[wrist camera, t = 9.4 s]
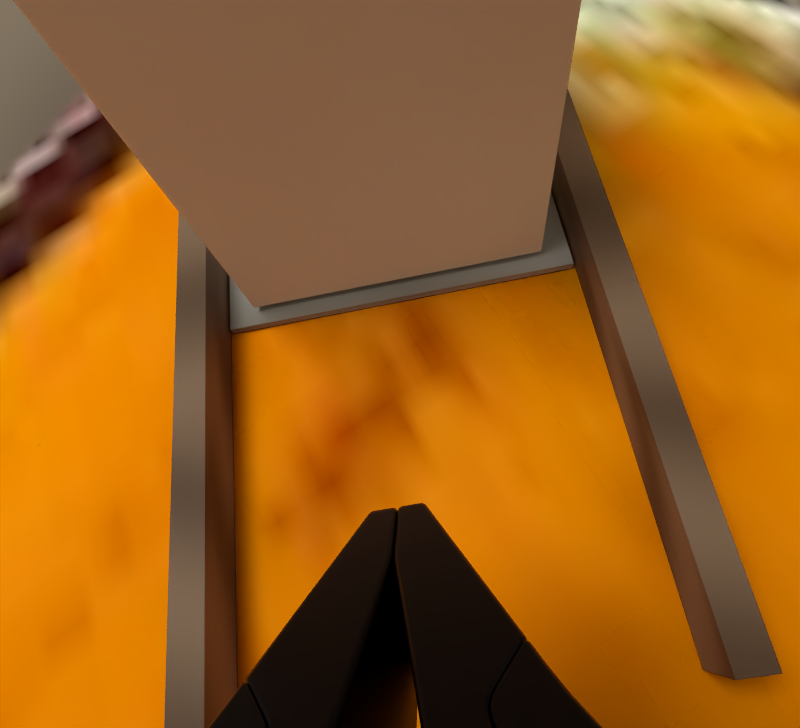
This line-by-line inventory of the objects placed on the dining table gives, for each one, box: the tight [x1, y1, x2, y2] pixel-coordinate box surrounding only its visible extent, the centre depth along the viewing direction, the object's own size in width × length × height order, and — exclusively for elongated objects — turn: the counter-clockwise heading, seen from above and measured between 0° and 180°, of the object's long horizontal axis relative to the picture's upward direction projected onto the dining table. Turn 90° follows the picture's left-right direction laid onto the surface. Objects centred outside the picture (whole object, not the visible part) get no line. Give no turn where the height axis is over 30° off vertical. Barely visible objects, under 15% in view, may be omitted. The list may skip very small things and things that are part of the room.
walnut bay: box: [164, 89, 782, 728], centre depth 18 cm, size 24×14×3 cm, turn 8°
